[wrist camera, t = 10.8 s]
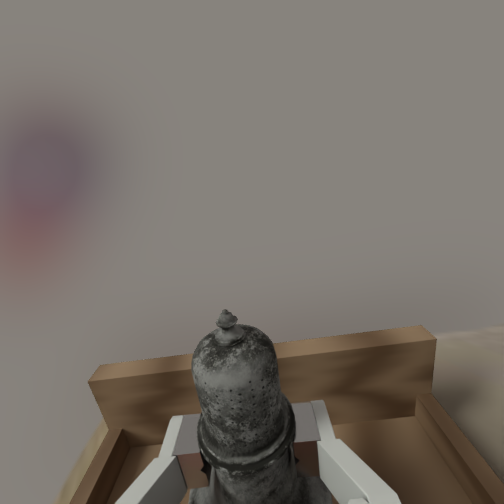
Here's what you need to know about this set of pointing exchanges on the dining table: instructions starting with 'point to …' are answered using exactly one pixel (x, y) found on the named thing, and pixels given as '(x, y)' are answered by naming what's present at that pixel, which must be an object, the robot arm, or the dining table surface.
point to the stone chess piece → (246, 422)
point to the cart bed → (310, 389)
